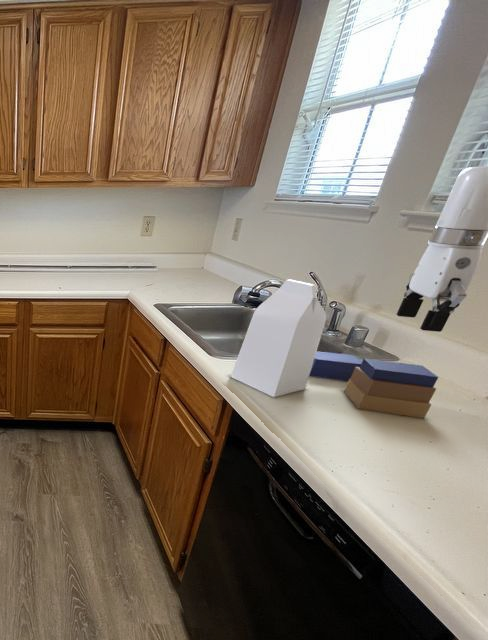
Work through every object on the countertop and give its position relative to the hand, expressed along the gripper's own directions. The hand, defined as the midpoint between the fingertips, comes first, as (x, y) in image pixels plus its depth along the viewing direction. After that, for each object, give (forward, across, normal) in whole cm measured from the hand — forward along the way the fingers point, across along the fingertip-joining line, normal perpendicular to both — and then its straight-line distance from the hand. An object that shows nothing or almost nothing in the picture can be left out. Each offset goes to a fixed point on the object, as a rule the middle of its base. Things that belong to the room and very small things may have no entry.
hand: (417, 323), depth 87 cm
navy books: (+20, +18, +4) cm, 27 cm away
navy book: (+14, +2, -2) cm, 14 cm away
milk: (+21, +5, +21) cm, 30 cm away
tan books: (+20, +2, -2) cm, 21 cm away
